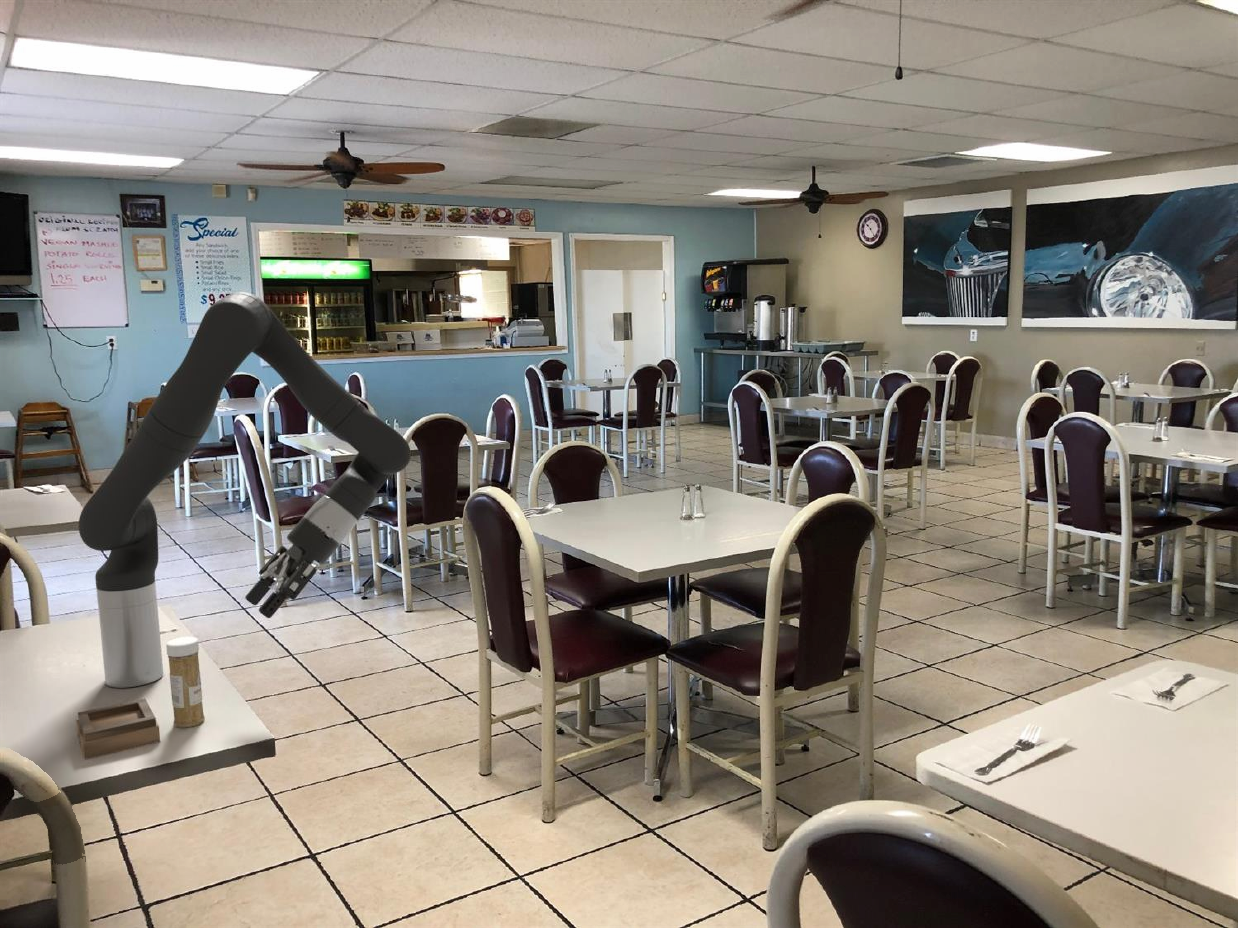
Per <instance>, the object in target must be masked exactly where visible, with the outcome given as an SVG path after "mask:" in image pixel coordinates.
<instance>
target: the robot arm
mask: <svg viewBox="0 0 1238 928" xmlns="http://www.w3.org/2000/svg"><path fill="white" fill-rule="evenodd" d="M201 319H202V320H201V322H200V323H199V326H198V329H197V330H196V333H195V334H194V337H193V339H192V342H191V344H190V346H189V348H188V351H187V352H186V355H185V356H184V359H183V360H182V362H181V363H180V365H179V367H178V368H177V369H176V371H174V373H173V374H172V375H171V377H170V378H169V379H168V381H167V382H166V383H165V385H164V386H163V388H162V390H161V391H160V392H159V393H158V395H157V396H156V398H155V399H154V401H153V403H152V404H151V405H150V407H149V409H148V410H147V412H146V414H145V415H144V417H143V419H142V420H141V423H140V424H139V425H138V428H137V430H136V431H135V433H134V434H133V436H132V438H131V439H130V441H129V442H128V444H127V445H126V447H125V449H124V451H123V452H122V454H121V455H120V458H119V459H118V460H117V462H116V464H115V466H114V467H113V469H112V470H111V472H110V473H109V474H108V475H107V477H106V478H105V479H104V481H102V483H101V484H100V486H99V487H98V488H97V489H96V490H95V492H94V493H93V494H92V496H91V497H90V498H89V499H88V501H87V502H86V503H85V505H84V506H83V508H82V510H81V512H80V514H79V518H78V519H79V520H78V533H79V535H80V538H81V541H82V542H83V544H85V545H86V546H87V547H88V548H90V549H92V550H94V551H99V552H108V551H110V553H109V556H108V558H107V559H106V560H105V562H104V563H102V565H101V566H100V567H99V568H98V570H97V571H96V573H95V577H94V578H95V579H94V580H95V588H96V598H97V606H98V607H97V608H98V615H99V616H98V617H99V630H100V637H101V649H102V650H101V651H102V660H103V670H104V682H105V685H107V686H108V687H111V688H118V689H119V688H121V689H123V688H132V687H139V686H143V685H147V684H150V683H153V682H155V681H157V680H160V679H161V678H162V677H163V676H164V667H163V666H164V663H163V654H162V641H161V631H160V619H159V609H158V597H157V586H156V570H157V567H158V564H159V534H158V533H159V531H158V529H159V528H158V520H157V519H158V517H157V512H156V510H155V507H154V505H153V503H152V501H151V500H150V498H148V496H149V495H150V494H151V493H152V491H153V490H154V489H156V487H158V486H159V485H160V484H162V483H163V481H165V480H166V479H167V478H169V476H171V475H172V474H173V473H174V472H175V471H176V470H177V469H179V467H181V466H182V465H183V463H185V461H187V460H188V459H189V457H190V456H191V455H192V454H193V452H194V451H195V450H196V448H197V446H198V445H199V443H200V442H201V440H202V439H203V438H204V436H205V434H206V432H207V431H208V428H210V425H211V423H212V421H213V418H214V415H215V413H216V410H217V407H218V403H219V401H220V397H221V395H222V393H223V390H224V388H225V386H226V385H227V383H228V382H229V380H230V379H231V378H232V376H233V375H234V374H235V372H236V371H237V370H238V368H239V367H240V366H241V365H242V363H244V361H245V360H246V359H247V358H248V356H250V355H251V354H252V353H253V354H254V355H256V356H257V357H259V358H260V359H262V360H263V361H264V362H265V363H267V364H268V365H269V366H270V367H271V368H272V369H273V370H274V371H275V372H276V374H278V375H279V376H280V377H281V378H282V380H283V381H284V382H285V385H287V387H288V388H289V389H290V391H291V392H292V394H293V395H294V396H295V398H296V400H297V401H298V402H299V403H300V405H301V406H302V407H303V408H304V409H305V410H306V411H307V413H308V414H309V415H310V416H312V417H313V418H314V419H315V420H316V421H317V422H318V423H320V425H322V426H323V428H325V429H326V431H328V432H330V434H332V435H333V436H334V437H335V438H337V439H338V440H340V441H342V442H345V443H347V444H349V445H350V446H351V447H352V448H353V449H354V450H356V451H357V454H356V455H355V457H354V458H353V460H352V461H351V462H350V464H349V465H348V467H347V468H346V470H345V471H344V472H343V473H342V474H341V475H340V476H339V477H338V479H336V480H335V482H334V483H333V484H332V485H331V487H329V489H328V490H326V492H325V494H324V495H322V496H321V498H319V500H317V501H316V502H315V503H314V504H313V505H311V507H310V508H309V510H308V511H306V513H305V515H303V517H302V518H301V519H300V520H299V522H298V523H297V524H296V525H295V526H294V527H293V528H292V529H291V531H290V532H289V533H288V534H287V536H286V538H287V541H288V542H289V543H291V544H292V546H291V547H289V548H287V547H285V546H284V545H282V546H280V547H278V550H277V551H276V552H275V553H274V554H273V555H272V556H271V557H270V559H269V560H268V561H266V563H265V564H264V565H263V566H262V568H261V569H259V572H258V574H259V577H258V581H257V582H256V583H255V585H254V586H253V587H252V588H251V589H250V591H248V592H247V594H246V595H245V597H244V598H245V599H244V600H246V601H247V602H249V603H250V604H252V605H253V606H257V605H258V604H259V603H260V602H261V601H262V599H264V597H265V596H266V594H268V592H269V591H270V590H271V588H272V587H274V586H275V585H276V584H277V585H276V587H275V589H274V591H273V592H272V593H271V594H270V595H269V596H268V598H267V599H265V601H264V602H263V604H262V605H261V606H260V607H259V608H258V612H259V613H260V614H261V615H263V616H264V617H265V618H267V619H271V618H272V617H273V616H274V615H275V614H276V612H277V611H278V609H280V607H281V606H282V605H283V603H285V602H286V601H289V600H292V601H293V600H296V599H297V597H298V596H299V595H300V593H301V592H302V591H303V589H305V587H306V586H307V584H308V583H309V582H310V580H311V579H312V578H313V577H314V576H315V574H317V571H318V569H317V568H316V567H314V566H313V563H314V562H316V563H317V564H318V565H325V563H326V562H327V561H328V560H329V559H330V558H331V556H332V555H333V554H334V553H335V552H336V550H338V548H339V547H340V545H341V544H342V543H343V542H344V541H345V539H346V538H347V537H348V536H349V535H350V533H351V532H352V530H353V528H354V527H355V525H356V524H357V523H358V521H359V520H360V519H361V518H362V517H363V515H364V514H365V513H366V512H367V511H368V509H369V508H370V507H371V506H372V504H373V502H374V501H375V499H376V497H377V493H378V491H380V490H381V488H382V487H383V486H384V485H385V483H386V482H387V481H388V480H389V479H390V477H391V476H392V475H393V474H397V473H401V472H402V471H403V470H404V469H406V467H407V466H408V464H409V463H410V461H411V456H412V455H411V453H412V452H411V447H410V445H409V443H408V441H407V440H406V439H405V438H404V436H402V435H401V433H399V432H398V431H397V430H396V429H395V428H393V427H392V426H391V425H389V424H388V423H386V422H385V421H384V420H383V419H381V418H380V417H378V416H377V415H375V414H373V413H372V411H370V410H369V409H368V408H366V407H365V406H364V404H362V403H361V402H360V400H358V399H357V398H356V397H355V396H354V395H353V394H351V393H350V392H349V391H348V390H347V389H346V388H345V387H344V386H343V385H341V384H340V383H339V382H338V381H337V380H336V379H335V378H334V377H333V376H331V374H329V373H328V371H326V370H325V369H324V368H323V367H322V366H321V364H319V363H318V362H317V361H316V360H315V359H314V358H313V357H312V356H311V355H310V354H309V353H308V351H306V349H304V348H303V346H302V345H301V344H300V343H299V342H298V341H297V339H295V337H294V336H293V335H292V334H291V333H290V332H289V331H288V329H287V327H285V325H284V324H283V323H282V322H281V320H280V319H279V317H277V316H276V315H275V313H274V312H273V310H272V309H271V308H270V307H269V306H268V305H267V304H266V303H265V301H264V300H262V299H261V298H260V297H258V296H257V295H255V294H253V293H250V292H247V291H246V292H245V291H237V292H236V291H235V292H233V293H230V294H227V295H226V296H224V297H222V298H220V299H219V300H217V301H216V302H214V303H213V304H212V305H211V306H210V307H209V308H208V309H207V310H206V312H205V313H204V314H203V317H202V318H201Z"/></svg>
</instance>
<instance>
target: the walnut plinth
mask: <svg viewBox="0 0 1238 928" xmlns="http://www.w3.org/2000/svg"><path fill="white" fill-rule="evenodd" d="M75 723H76V724H75V725H76V733H77V738H79V739H78V743H79V744H80V748H81V751H82V754H83V757H84V760H87V759H92V758H97V757H101V756H104V755H109V754H114V753H117V752H122V751H127V750H131V749H135V748H139V747H144V746H148V745H152V744H156V742H157V743H161V736H160V734H161V733H160V725H159V723H158V722H157V719H156V716H155V714H154V712H153V710H152V709H151V707H150V704H149V703H148V700H147V699H146V698H141V699H137V700H131V701H126V702H122V703H118V704H112V705H108V706H103V707H98V708H94V709H93V708H92V709H88V710H85V711H84V710H83V711H79V712H77V719H75Z"/></svg>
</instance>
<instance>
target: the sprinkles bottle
mask: <svg viewBox="0 0 1238 928" xmlns="http://www.w3.org/2000/svg"><path fill="white" fill-rule="evenodd" d="M165 645H166V655H167V658H168V665H169V684H170V691H171V693H170V694H171V704H172V709H173V718H174V719H173V725H174V726H175V727H178V728H190V727H195V726H198V725H200V724H202V723H203V721H205V719H206V717H205V715H204V705H203V691H202V680H201V671H200V663H199V662H200V661H199V650H200V645H199V639H198V638H197V637H194V636H182V637H177V638H174V639H171V640H169V641H167V643H166V644H165Z"/></svg>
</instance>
